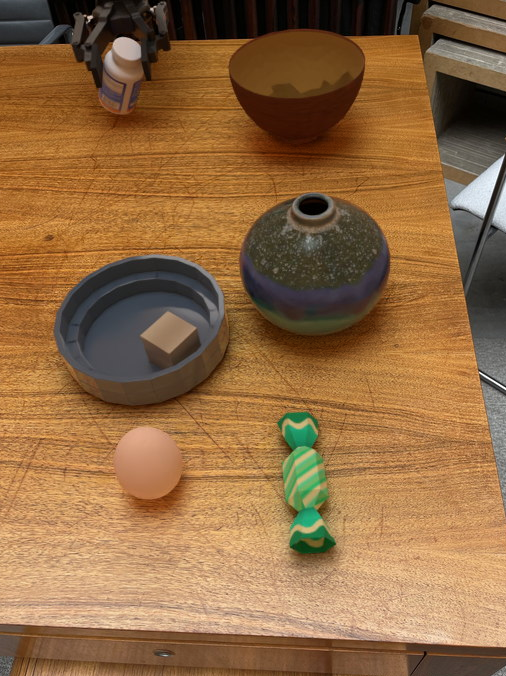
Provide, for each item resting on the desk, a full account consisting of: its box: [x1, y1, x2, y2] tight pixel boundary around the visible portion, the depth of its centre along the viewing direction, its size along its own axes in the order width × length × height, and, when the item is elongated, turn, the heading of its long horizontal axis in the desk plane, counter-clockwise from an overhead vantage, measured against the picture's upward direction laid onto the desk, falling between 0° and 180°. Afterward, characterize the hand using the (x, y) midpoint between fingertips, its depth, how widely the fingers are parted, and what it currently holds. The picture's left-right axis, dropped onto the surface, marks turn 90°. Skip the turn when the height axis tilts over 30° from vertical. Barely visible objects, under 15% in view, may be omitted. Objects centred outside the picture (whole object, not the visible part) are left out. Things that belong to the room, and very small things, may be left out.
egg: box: [112, 426, 184, 500], centre depth 55 cm, size 6×6×8 cm
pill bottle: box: [98, 36, 144, 116], centre depth 89 cm, size 5×5×10 cm
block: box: [140, 311, 201, 370], centre depth 64 cm, size 4×4×4 cm
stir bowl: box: [53, 253, 230, 406], centre depth 66 cm, size 17×17×4 cm
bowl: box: [227, 28, 366, 145], centre depth 86 cm, size 18×18×10 cm
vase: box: [238, 191, 391, 337], centre depth 64 cm, size 15×15×13 cm
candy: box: [276, 411, 337, 555], centre depth 55 cm, size 12×3×4 cm
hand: (121, 74), depth 83 cm, fingers closed on pill bottle, 6 cm apart
